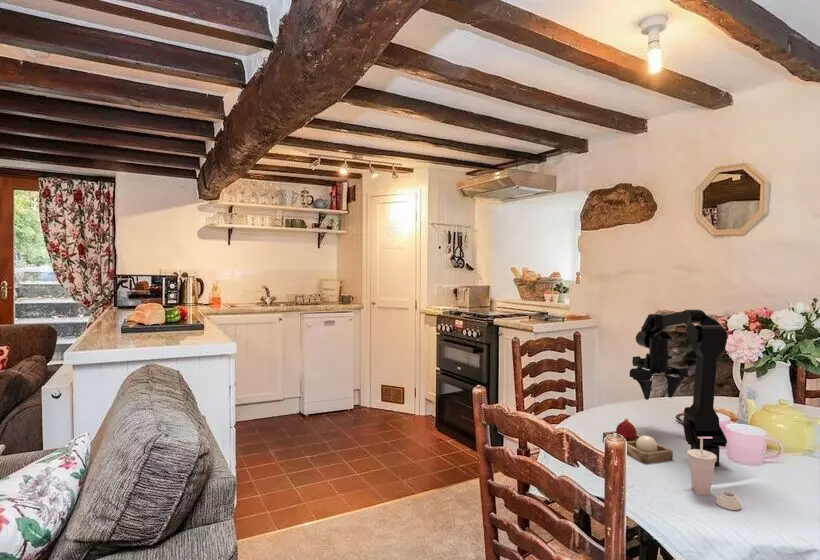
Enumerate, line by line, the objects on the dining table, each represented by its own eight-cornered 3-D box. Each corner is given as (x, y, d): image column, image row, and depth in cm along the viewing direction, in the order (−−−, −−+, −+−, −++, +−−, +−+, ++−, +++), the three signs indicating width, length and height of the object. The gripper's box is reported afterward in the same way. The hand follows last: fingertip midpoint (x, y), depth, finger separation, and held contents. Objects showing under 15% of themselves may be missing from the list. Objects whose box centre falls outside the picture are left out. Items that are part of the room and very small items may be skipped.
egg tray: (672, 463, 137) (672, 450, 137) (644, 466, 135) (644, 454, 135) (628, 440, 155) (628, 429, 154) (602, 443, 152) (603, 432, 152)
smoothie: (683, 492, 120) (684, 436, 119) (689, 483, 125) (690, 430, 124) (713, 501, 115) (714, 443, 115) (718, 491, 120) (719, 436, 120)
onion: (639, 448, 146) (640, 421, 145) (620, 447, 146) (620, 421, 146) (631, 440, 151) (631, 415, 151) (613, 440, 152) (613, 415, 151)
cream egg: (661, 457, 139) (662, 438, 138) (645, 459, 137) (645, 440, 137) (647, 450, 144) (647, 431, 144) (631, 452, 142) (631, 433, 142)
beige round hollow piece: (710, 501, 116) (726, 512, 111) (710, 489, 116) (726, 499, 111) (730, 500, 116) (746, 511, 111) (730, 488, 116) (746, 498, 111)
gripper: (663, 346, 169) (662, 390, 170) (618, 348, 164) (617, 394, 165) (689, 351, 158) (688, 398, 159) (642, 355, 153) (641, 403, 154)
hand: (658, 398), depth 159 cm, fingers open, 9 cm apart
